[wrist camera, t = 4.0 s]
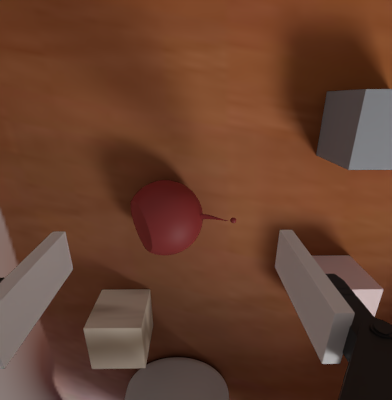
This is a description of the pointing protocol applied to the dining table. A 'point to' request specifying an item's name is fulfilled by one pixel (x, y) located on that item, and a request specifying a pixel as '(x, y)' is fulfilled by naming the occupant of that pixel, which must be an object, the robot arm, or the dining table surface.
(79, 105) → the dining table surface
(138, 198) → the fruit
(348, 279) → the dusty rose block
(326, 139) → the slate grey block
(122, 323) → the birch block
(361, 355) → the robot arm
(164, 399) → the cylinder vase
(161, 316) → the dining table surface
